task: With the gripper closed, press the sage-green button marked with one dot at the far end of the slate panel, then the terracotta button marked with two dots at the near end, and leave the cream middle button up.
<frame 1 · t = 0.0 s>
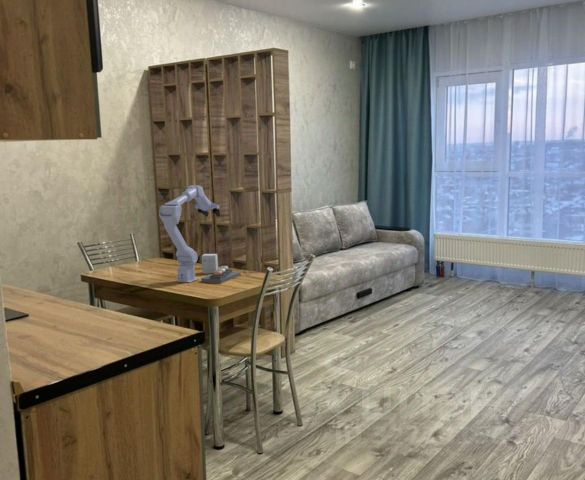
hand: (213, 215, 326), 32 cm above the table, tool tilted 50°, fingers open, 7 cm apart
sage button: (224, 268, 313), point 4 cm above the table, slide at 0.0 cm
clay button: (218, 273, 300), point 4 cm above the table, slide at 0.0 cm
button panel: (221, 278, 307), on the table
small box: (210, 273, 325), on the table
cream button: (221, 270, 306), point 4 cm above the table, slide at 0.0 cm
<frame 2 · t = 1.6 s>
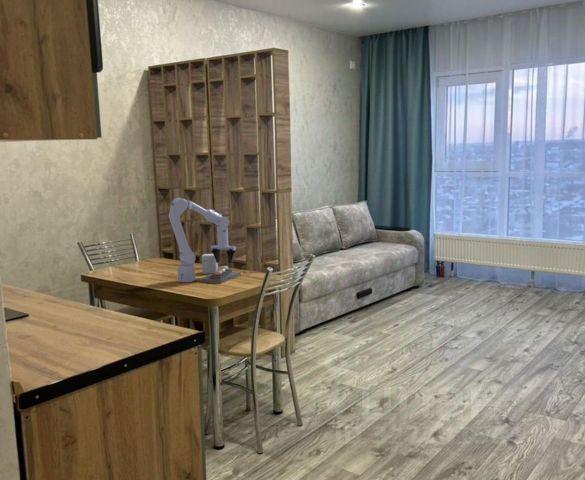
hand: (223, 262, 313), 7 cm above the table, tool pointing down, fingers open, 7 cm apart
nothing on the table moved.
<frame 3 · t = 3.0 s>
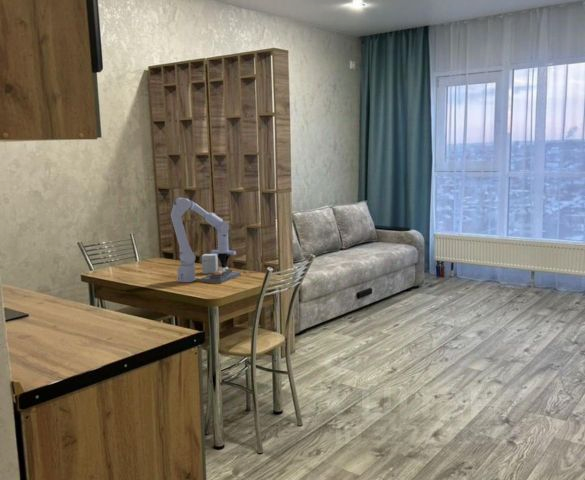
hand: (224, 267, 313), 5 cm above the table, tool pointing down, fingers closed, pressing on sage button
sage button: (224, 268, 313), point 4 cm above the table, slide at 0.4 cm, touching gripper
everything else where it was.
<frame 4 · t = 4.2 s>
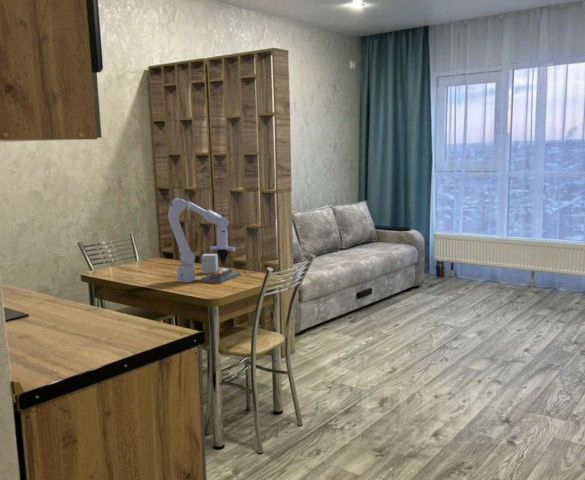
hand: (223, 263, 311), 7 cm above the table, tool pointing down, fingers closed
sage button: (224, 270, 313), point 3 cm above the table, slide at 1.4 cm
everything else where it was.
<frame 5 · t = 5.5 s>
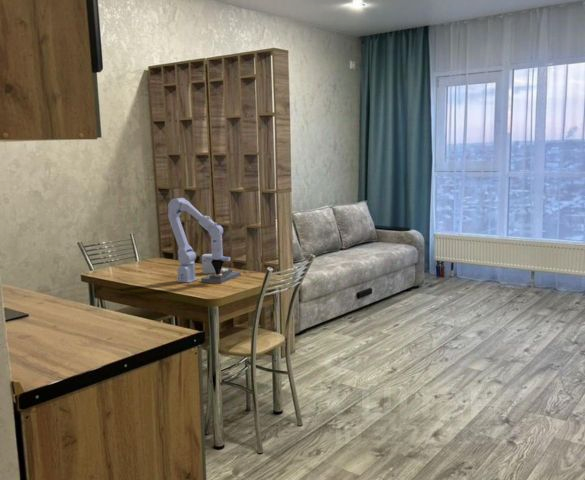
hand: (218, 274, 300), 4 cm above the table, tool pointing down, fingers closed, pressing on clay button
clay button: (218, 275, 300), point 3 cm above the table, slide at 1.4 cm, touching gripper
everything else where it was.
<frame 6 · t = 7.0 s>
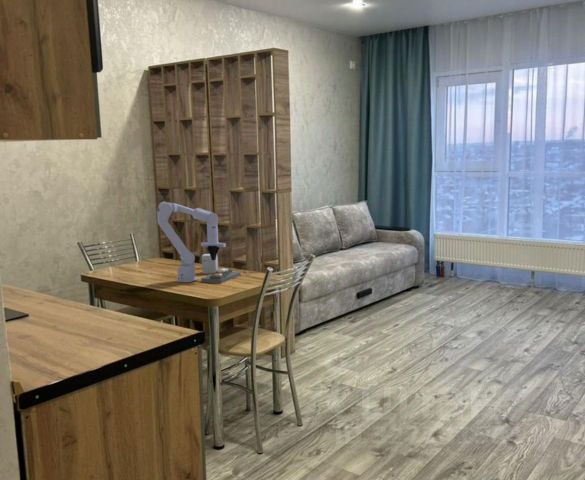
hand: (213, 259, 309), 10 cm above the table, tool pointing down, fingers closed
clay button: (218, 275, 300), point 3 cm above the table, slide at 1.4 cm
everything else where it was.
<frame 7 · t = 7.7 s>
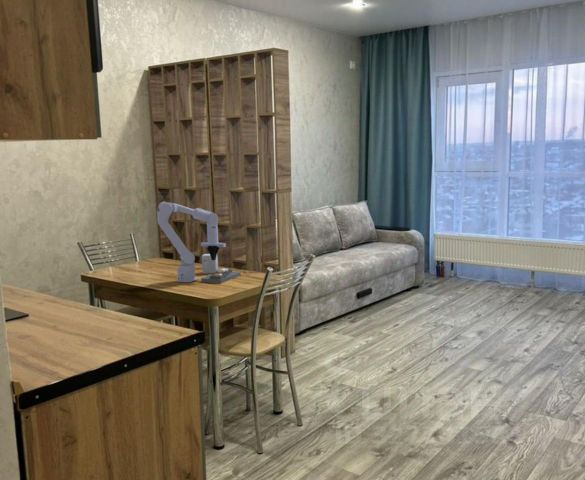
hand: (213, 259, 309), 10 cm above the table, tool pointing down, fingers closed
nothing on the table moved.
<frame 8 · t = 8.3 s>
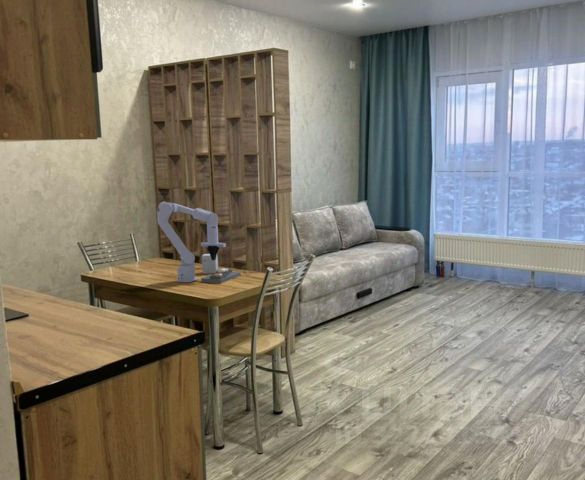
hand: (213, 259, 309), 10 cm above the table, tool pointing down, fingers closed
nothing on the table moved.
at the end: sage button slide at 1.4 cm; clay button slide at 1.4 cm; cream button slide at 0.0 cm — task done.
